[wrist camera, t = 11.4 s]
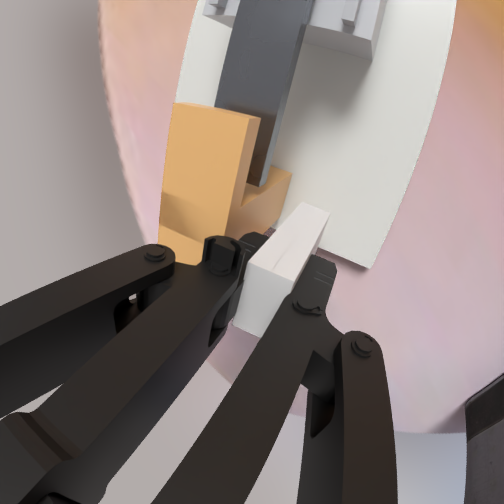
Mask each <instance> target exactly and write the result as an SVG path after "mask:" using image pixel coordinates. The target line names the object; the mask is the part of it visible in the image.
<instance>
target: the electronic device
mask: <svg viewBox="0 0 504 504" xmlns="http://www.w3.org/2000/svg"><path fill="white" fill-rule="evenodd" d="M465 415H466V436H467V465H466V466H467V467H466V486H465V498H464V504H504V375H502V376H501V377H500V378H498V379H497V380H496V381H494V382H493V383H492V384H490V385H489V386H488V387H486V388H485V389H483V390H482V391H480V392H479V393H478V394H476V395H475V396H473V397H472V398H471V399H470V400H469V401H468V402H467V404H466V405H465Z"/></svg>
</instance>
